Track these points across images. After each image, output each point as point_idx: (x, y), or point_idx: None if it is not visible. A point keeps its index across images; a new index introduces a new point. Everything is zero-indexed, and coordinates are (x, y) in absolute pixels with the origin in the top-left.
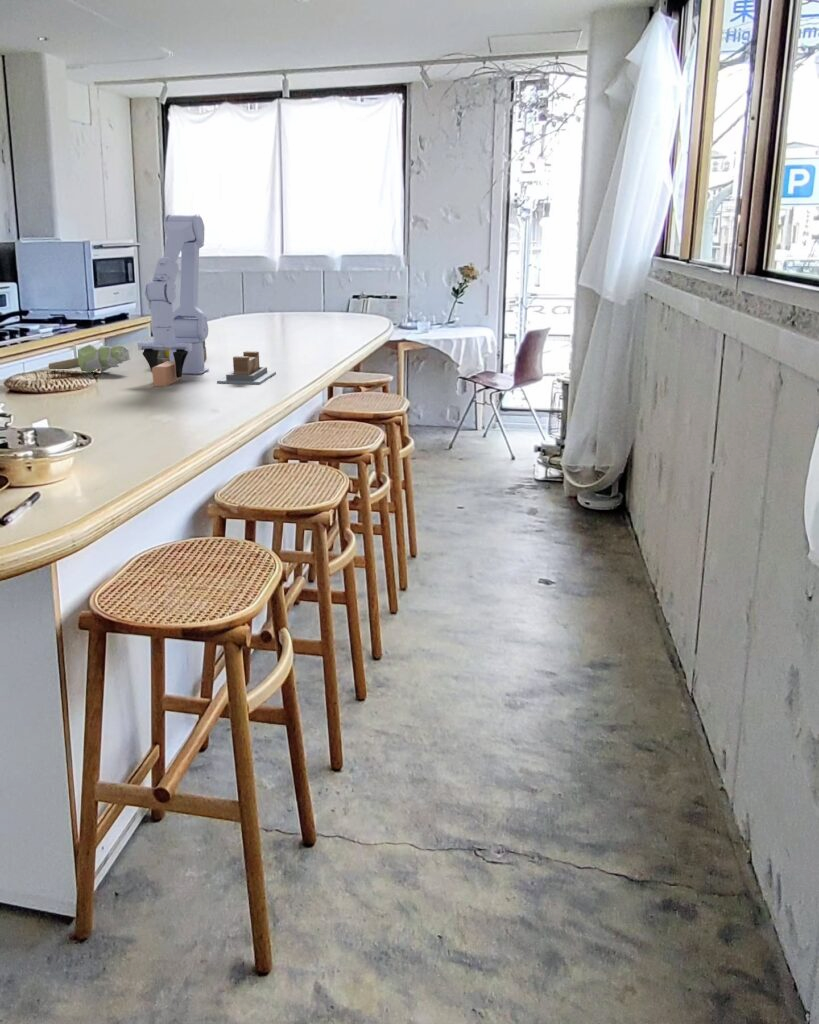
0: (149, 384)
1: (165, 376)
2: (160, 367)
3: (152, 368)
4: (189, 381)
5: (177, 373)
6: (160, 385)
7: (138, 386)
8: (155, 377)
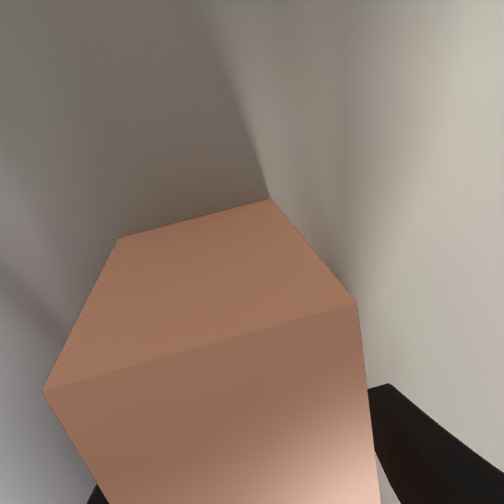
0: (348, 239)
1: (97, 292)
2: (205, 409)
3: (339, 296)
4: (84, 494)
5: (100, 501)
6: (191, 221)
7: (408, 82)
8: (257, 241)
